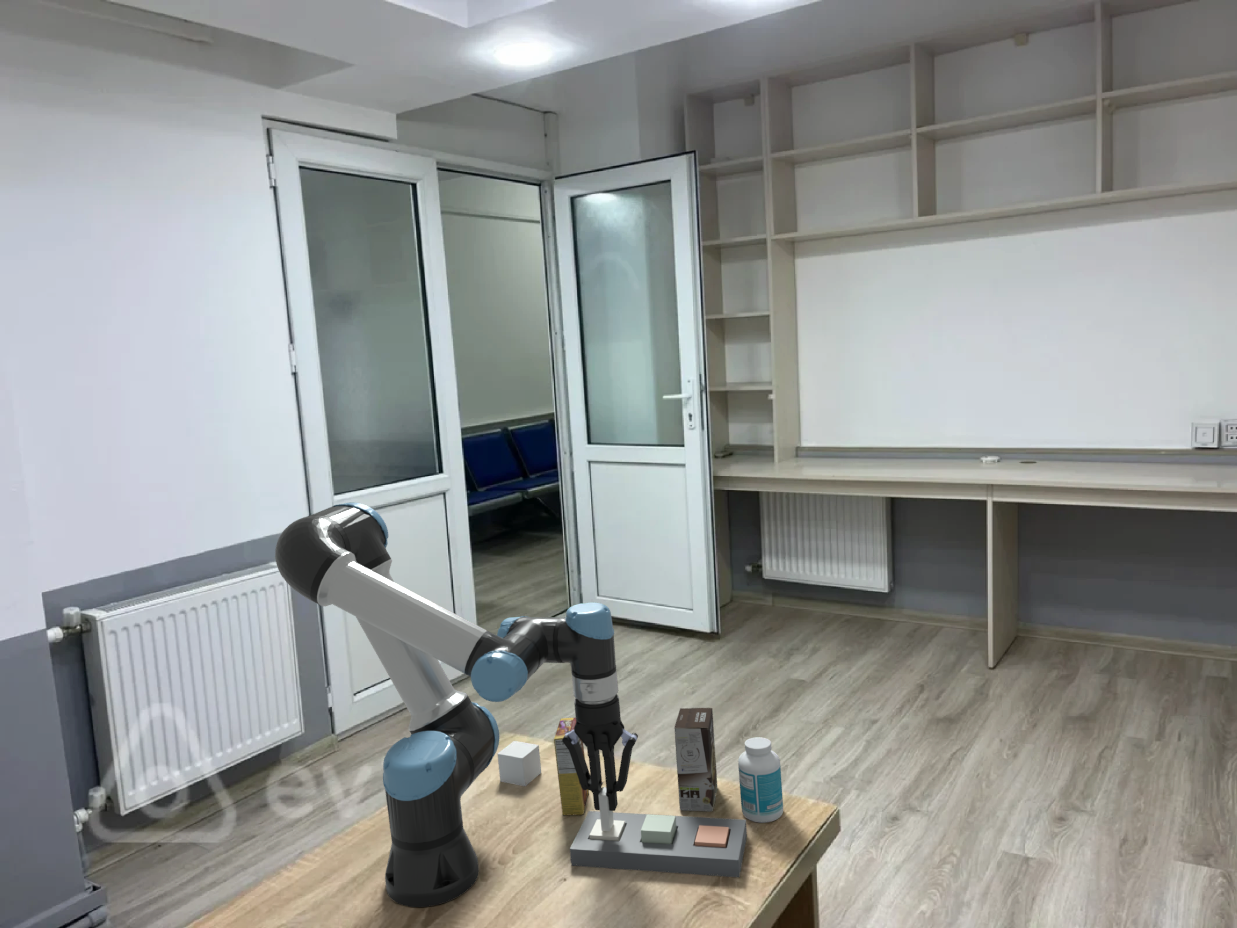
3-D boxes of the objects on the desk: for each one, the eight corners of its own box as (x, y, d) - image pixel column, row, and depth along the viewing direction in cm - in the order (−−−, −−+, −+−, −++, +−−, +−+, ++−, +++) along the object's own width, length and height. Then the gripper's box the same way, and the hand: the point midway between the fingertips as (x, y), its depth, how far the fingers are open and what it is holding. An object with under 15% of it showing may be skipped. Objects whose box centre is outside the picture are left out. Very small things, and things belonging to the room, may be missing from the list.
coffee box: (714, 812, 166) (708, 728, 164) (678, 810, 168) (672, 727, 165) (718, 786, 175) (713, 706, 173) (685, 785, 176) (679, 706, 174)
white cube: (525, 786, 181) (522, 758, 180) (500, 781, 184) (497, 753, 183) (541, 772, 186) (538, 744, 185) (516, 767, 189) (514, 740, 188)
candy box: (566, 791, 178) (560, 717, 175) (589, 791, 177) (582, 716, 175) (560, 816, 169) (553, 738, 167) (583, 815, 168) (576, 737, 166)
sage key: (642, 848, 153) (640, 830, 153) (648, 832, 158) (646, 814, 158) (671, 850, 152) (670, 831, 152) (676, 833, 157) (675, 815, 157)
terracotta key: (696, 860, 151) (694, 841, 151) (700, 843, 156) (699, 825, 156) (726, 862, 150) (725, 843, 150) (729, 845, 155) (728, 826, 155)
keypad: (571, 865, 153) (569, 848, 153) (590, 826, 165) (588, 810, 164) (739, 877, 146) (738, 859, 146) (746, 835, 158) (745, 819, 157)
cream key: (591, 852, 156) (589, 834, 155) (598, 836, 161) (597, 819, 160) (619, 854, 155) (618, 836, 154) (626, 838, 159) (624, 820, 159)
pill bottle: (785, 804, 167) (781, 734, 165) (781, 826, 160) (777, 753, 158) (744, 801, 169) (740, 732, 167) (738, 822, 162) (734, 751, 160)
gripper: (552, 704, 152) (565, 836, 155) (629, 706, 148) (640, 841, 152) (565, 686, 159) (577, 813, 162) (638, 687, 156) (649, 816, 159)
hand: (607, 826), depth 157 cm, fingers closed
